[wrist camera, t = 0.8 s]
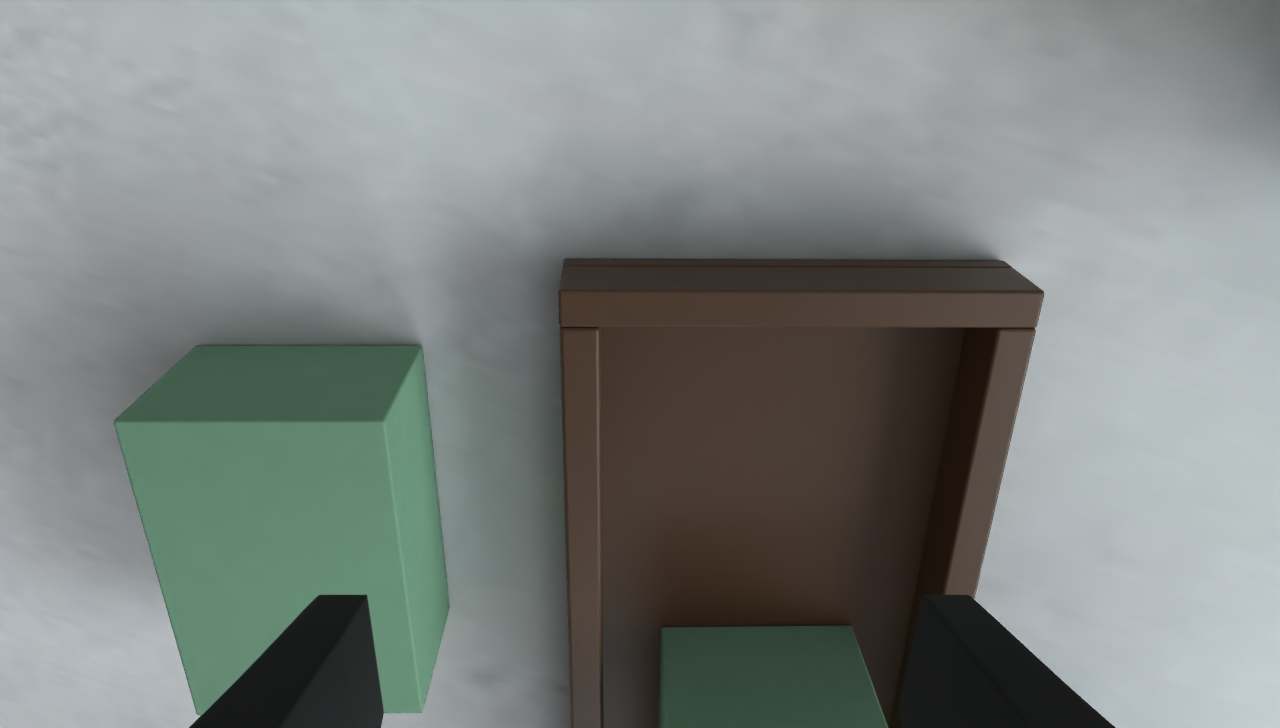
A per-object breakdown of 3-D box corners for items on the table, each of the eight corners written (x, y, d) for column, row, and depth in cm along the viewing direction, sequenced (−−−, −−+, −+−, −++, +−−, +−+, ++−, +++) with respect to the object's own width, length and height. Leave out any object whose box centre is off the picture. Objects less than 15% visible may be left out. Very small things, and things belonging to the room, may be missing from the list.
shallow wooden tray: (887, 831, 26) (907, 895, 25) (578, 836, 26) (575, 900, 24) (1003, 259, 19) (1046, 291, 17) (563, 257, 18) (557, 290, 16)
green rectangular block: (450, 607, 22) (422, 713, 19) (256, 608, 22) (196, 716, 19) (422, 345, 19) (384, 420, 16) (196, 344, 19) (111, 420, 16)
